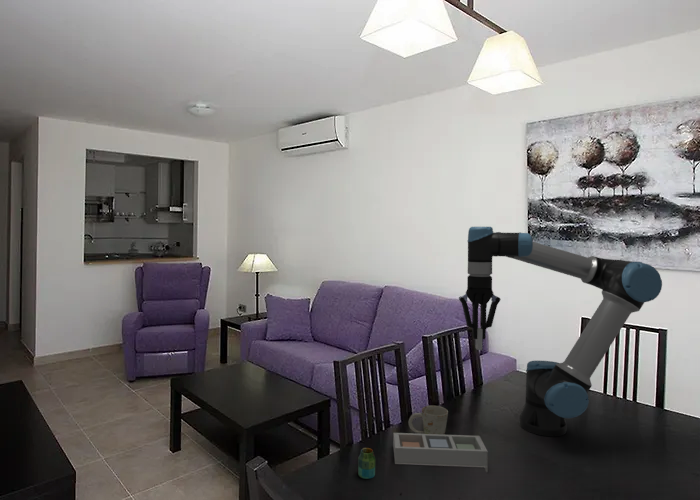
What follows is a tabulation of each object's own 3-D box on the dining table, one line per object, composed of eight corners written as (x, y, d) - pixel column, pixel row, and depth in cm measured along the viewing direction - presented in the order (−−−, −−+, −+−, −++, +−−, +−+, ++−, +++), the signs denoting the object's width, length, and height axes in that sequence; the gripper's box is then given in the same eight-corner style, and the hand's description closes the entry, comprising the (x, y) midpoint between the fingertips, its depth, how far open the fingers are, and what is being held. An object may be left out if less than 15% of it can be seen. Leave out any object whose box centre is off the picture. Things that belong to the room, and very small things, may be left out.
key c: (418, 450, 140) (418, 442, 140) (420, 458, 135) (420, 450, 135) (402, 449, 141) (402, 441, 140) (403, 457, 136) (403, 449, 136)
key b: (445, 447, 140) (445, 439, 140) (448, 455, 135) (448, 447, 135) (428, 446, 140) (429, 438, 140) (431, 454, 135) (431, 446, 135)
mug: (447, 448, 146) (448, 416, 146) (406, 443, 149) (407, 412, 148) (447, 436, 154) (448, 406, 154) (408, 432, 157) (409, 403, 156)
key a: (472, 452, 140) (472, 444, 140) (476, 460, 135) (476, 452, 135) (455, 451, 140) (455, 443, 140) (458, 459, 135) (459, 451, 135)
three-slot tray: (478, 453, 143) (479, 435, 142) (487, 472, 132) (488, 452, 131) (393, 450, 144) (393, 432, 144) (394, 468, 133) (395, 448, 133)
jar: (357, 475, 129) (357, 446, 129) (373, 474, 129) (374, 446, 129) (358, 484, 124) (359, 455, 124) (376, 483, 125) (376, 454, 124)
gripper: (496, 274, 152) (495, 346, 153) (456, 274, 152) (455, 345, 153) (504, 276, 144) (503, 352, 145) (461, 276, 144) (460, 352, 145)
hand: (478, 348), depth 149 cm, fingers closed
